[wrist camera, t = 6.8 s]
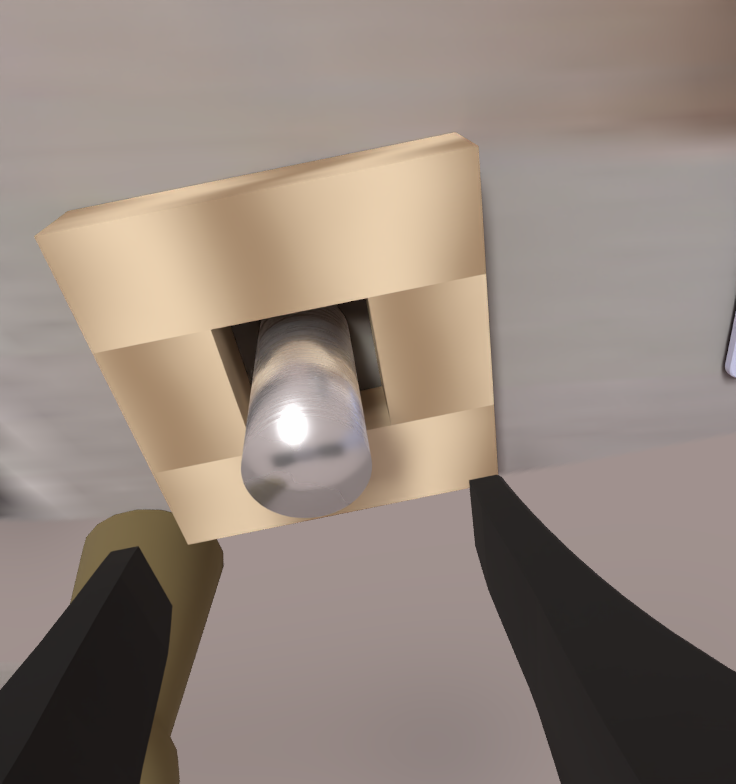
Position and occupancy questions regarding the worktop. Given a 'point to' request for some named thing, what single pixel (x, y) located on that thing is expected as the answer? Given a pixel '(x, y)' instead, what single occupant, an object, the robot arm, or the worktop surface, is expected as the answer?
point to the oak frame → (285, 296)
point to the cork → (189, 612)
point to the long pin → (305, 417)
